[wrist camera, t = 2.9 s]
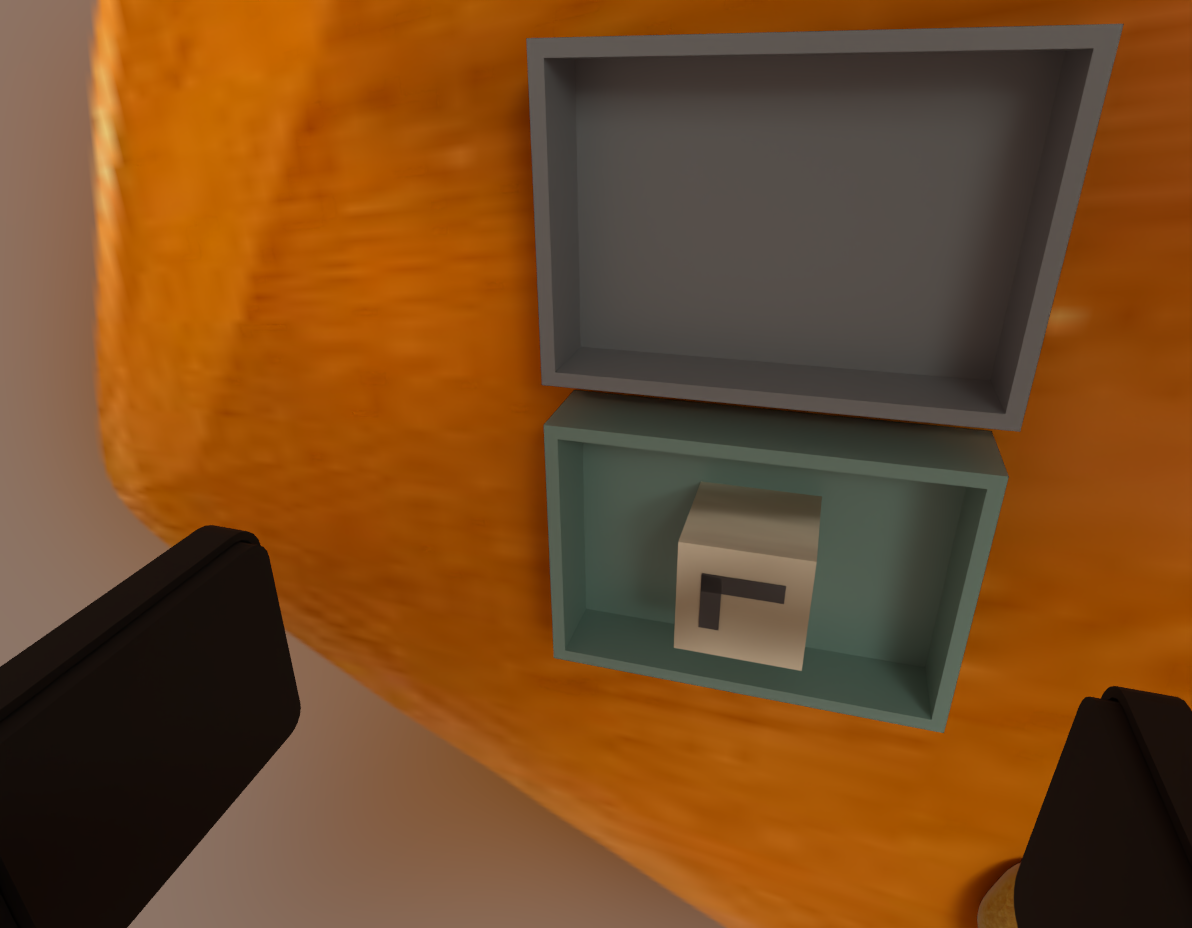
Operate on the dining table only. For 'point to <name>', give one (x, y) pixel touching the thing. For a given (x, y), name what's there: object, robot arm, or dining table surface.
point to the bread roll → (999, 903)
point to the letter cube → (747, 574)
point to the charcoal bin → (811, 213)
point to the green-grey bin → (844, 559)
